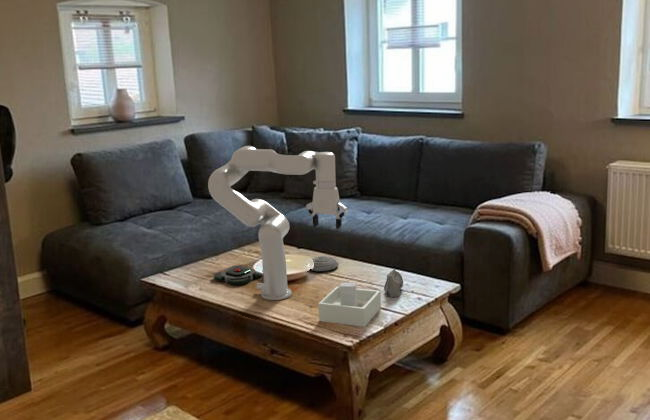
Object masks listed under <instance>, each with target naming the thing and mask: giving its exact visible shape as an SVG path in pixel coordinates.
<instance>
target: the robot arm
mask: <svg viewBox="0 0 650 420" xmlns="http://www.w3.org/2000/svg"><path fill="white" fill-rule="evenodd" d="M312 170H315V180H313V181H312V183H313V185H315V187H314V188H313V193H312V194H313V195H312V202H309V203H307V204H306V205H305V207H306V209H307V211H308V213H309V214H310V216H311V217H312V224H313V227H314V228H315V227H317V226H319V215H318V214H320V215H331V216H332V215H334V216H335V217H336V218H335V229H336V230H338V229H341V227H342V223H343V221H342V218H343V217H344V216H345V215H346V214H347V212H348V207H347V206H345V204H342V203H341V201H340V195H339V189H338V187H337V185H336V182H337V180H336V155H335V154H334V153H333V152H331V151H320V152H319V151H314V150H313V151H312V150H304V151H303V152H301V153H299V154H298V155H297V154H296V155H295V154H294V155H293V154H292V155H291V154H290V155H289V154H280V153H278V152H276V151H275V150H274V149H264V148H262V149H259V148H256V147H254V146H252V145H245V146H242V147H240V148H239V149H236V150H235V151H234V152H233V154H232V156H231V159H230V160H229V161H228V162H227V163H226V164H224V165H222V166H220V167H219V168H216V169H215V170H214V171H213V172H212V173H211V174H210V176H209V178H208V182H207V184H208V185H207V187H208V192H209V194H210V196H211V198H212V199H213V200H214V201H215V202H217V203H218V204H219V206H221V207H223V208H224V209H225V210H227V211H228V212H229V213H230V214H232V216H234V217H235V218H236V219H237V220H239V221H240V222H241V223H242V224H243V225H245V226H246V227H249V228H254V227H256V226H258V225H260V228H259V230H258V241H259V245H260V251H261V263H262V272H263V275H262V276H263V282H257V283H256V290H261V292H260V297H261V298H262V299H263V300H267V301H280V300H281V301H282V300H285V299H288V298H289V297H291V296H292V293H293V292H292V290H291V288H289V287H288V277H287V275H288V273H287V261H286V260H287V258H286V250H285V245H284V237H286V235H287V234H288V233H289V230H290V222H289V220H288V219H287V217H286V216H285V215H284V214H282V213H281V212H280V211H278V210H277V209H276V208H275V207H273V206H272V205H271V204H270V203H268V201H265V200H264V199H260V198H253V199H251V200H249V199H248V198H247V197H245V196H244V195H243V194H242V193H240V192H239V191H236V190H235V189H233V188H232V186H233V185H235V184H236V183H238V182H239V181H240V180H241V179H242V178H243V177H244V176H245V175H246V174H247V173H248V172H252V171H253V172H255V171H256V172H272V173H276V174H281V175H291V176H292V175H294V176H295V175H296V176H298V175H299V176H301V175H306V174H308V173H309V172H311V171H312ZM340 210H342V212H341V211H340Z"/></svg>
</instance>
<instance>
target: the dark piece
mask: <svg viewBox="0 0 650 420" xmlns="http://www.w3.org/2000/svg"><path fill="white" fill-rule="evenodd" d="M259 277H261V276H260V275H259V274H258V273H256V272H255V270H254V269H253V267H252V266H248V265H245V264H244V265H243V264H239V265H237V264H236V265H232V266H229V267H227V268H224V269H223V271H222V270H220V271H217V272H215V273H213V280H214V281H218V282H225V283H226V284H227V283H228V284H230V285H233V286H234V285H235V286H237V285H244V284H247V283H248V282H251V281H252V280H253V279H254V278H255V279H257V278H259Z"/></svg>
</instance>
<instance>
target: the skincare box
mask: <svg viewBox="0 0 650 420" xmlns="http://www.w3.org/2000/svg"><path fill="white" fill-rule="evenodd" d="M339 287H340V303H341V305H346V306H354V307H357V292H356V288H357V282H340V283H339Z"/></svg>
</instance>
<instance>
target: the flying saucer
mask: <svg viewBox="0 0 650 420" xmlns="http://www.w3.org/2000/svg"><path fill="white" fill-rule="evenodd" d="M311 259H312V260H313V262H314V268H313V270H312V271H314V272H327V271H332V270H334V269H337V268H338V267H339V264H340V263H339V261H337V260H336V259H335V258H333V257H330V256H325V255H321V256H316V257H313V258H311Z"/></svg>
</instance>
